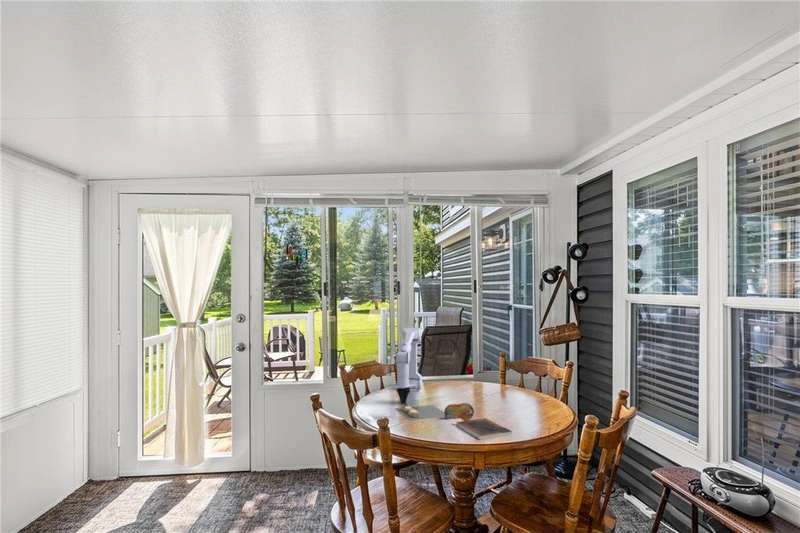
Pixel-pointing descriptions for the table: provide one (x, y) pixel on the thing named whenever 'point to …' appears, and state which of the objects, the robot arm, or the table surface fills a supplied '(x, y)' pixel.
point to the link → (410, 410)
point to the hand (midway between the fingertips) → (403, 403)
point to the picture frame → (483, 428)
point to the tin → (459, 411)
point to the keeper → (416, 404)
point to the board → (423, 412)
